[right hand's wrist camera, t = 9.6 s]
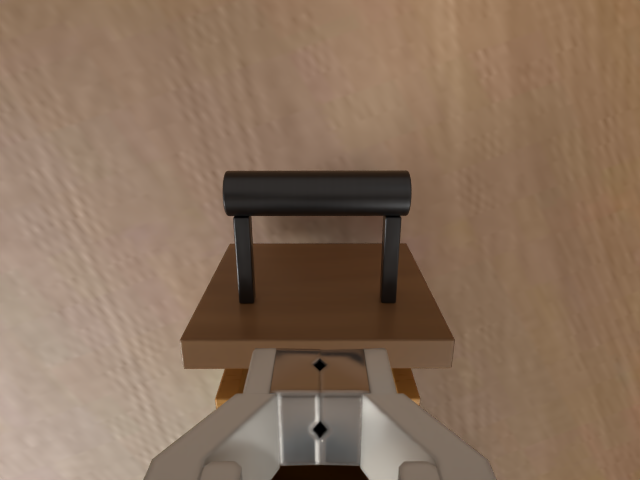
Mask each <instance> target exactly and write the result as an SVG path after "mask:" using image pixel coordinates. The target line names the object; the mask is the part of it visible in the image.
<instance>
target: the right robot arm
mask: <svg viewBox="0 0 640 480" xmlns="http://www.w3.org/2000/svg"><path fill="white" fill-rule="evenodd" d="M290 465H349V466H360V468H361V469H362V471H363V472H364V473H365V475H366V476H367V477H368V479H369V480H497V479H496V477H495V475H494V472H493V470H492V468H491V465H490V463H489V461H488V459H486V458H485V457H484V456H482V455H481V454H480V453H479V452H477V451H476V450H475V449H474V448H472V447H471V446H470V445H468V444H467V443H466V442H465V441H463V440H462V439H461V438H460V437H458V436H457V435H456V434H454V433H453V432H452V431H451V430H449V429H448V428H447V427H446V426H444V425H443V424H442V423H440V422H439V421H438V420H437V419H435V418H434V417H433V416H432V415H430V414H429V413H428V412H426V411H425V410H424V409H423V408H421V407H420V406H419V405H418V404H416V403H415V402H414V401H413V400H411V399H410V398H409V397H407V396H406V395H405V394H399V393H397V391H396V386H395V382H394V378H393V374H392V370H391V366H390V362H389V358H388V354H387V350H386V349H385V348H367V349H337V350H320V349H287V348H277V349H276V348H255V349H254V351H253V353H252V357H251V361H250V366H249V370H248V374H247V378H246V382H245V386H244V390H243V393H242V394H235V395H234V396H233V397H231V398H230V399H229V400H227V401H226V402H225V403H224V404H222V405H221V406H220V407H219V408H217V409H216V410H215V411H213V412H212V413H211V414H210V415H208V416H207V417H206V418H204V419H203V420H202V421H201V422H199V423H198V424H197V425H196V426H194V427H193V428H192V429H190V430H189V431H188V432H187V433H185V434H184V435H183V436H181V437H180V438H179V439H178V440H176V441H175V442H174V443H173V444H171V445H170V446H169V447H167V448H166V449H165V450H164V451H162V452H161V453H160V454H158V455H157V456H156V457H155V458H153V459H152V461H151V464H150V466H149V468H148V471H147V473H146V475H145V477H144V480H271V479H272V478H273V476H274V475H275V474H276V472H277V471H278V470H279V468H280V466H290Z"/></svg>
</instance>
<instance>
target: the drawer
mask: <svg viewBox="0 0 640 480" xmlns="http://www.w3.org/2000/svg"><path fill="white" fill-rule="evenodd" d="M223 203H224V209H225V212H226V214H227V215H228V216H234V218H233V223H234V237H235V244H230V245H229V247H228V249H227V250H226V252H225V254H224V256H223V258H222V260H221V262H220V264H219V266H218V268H217V270H216V272H215V274H214V275H213V277H212V279H211V281H210V283H209V285H208V287H207V289H206V291H205V293H204V295H203V297H202V299H201V301H200V302H199V304H198V306H197V308H196V310H195V312H194V314H193V316H192V318H191V320H190V322H189V324H188V326H187V327H186V329H185V331H184V333H183V335H182V337H181V339H180V346H181V354H182V362H183V368H184V369H225V370H224V373H223V376H222V379H221V382H220V386H219V389H218V392H217V395H216V398H215V403H216V409H217V408H219V407H220V406H221V405H222V404H224V403H225V402H226V401H227V400H229V399H230V398H231V397H233V396H234V395H235V394H242V393H243V390H244V386H245V382H246V378H247V374H248V370H249V366H250V361H251V357H252V353H253V351H254V349H255V348H276V349H277V348H287V349H320V350H337V349H367V348H385V349H386V350H387V354H388V358H389V362H390V366H391V370H392V374H393V378H394V382H395V386H396V391H397V393H399V394H405V395H406V396H407V397H409V398H410V399H411V400H413V401H414V402H415V403H416V404H418V405H419V406H420V396H419V393H418V390H417V387H416V383H415V380H414V377H413V374H412V370H411V368H451V367H452V359H453V350H454V342H455V340H454V337H453V335H452V333H451V331H450V330H449V328H448V326H447V324H446V322H445V320H444V318H443V316H442V314H441V312H440V310H439V308H438V306H437V304H436V302H435V300H434V298H433V296H432V294H431V292H430V290H429V288H428V286H427V284H426V282H425V280H424V278H423V276H422V274H421V272H420V270H419V268H418V266H417V264H416V262H415V260H414V258H413V256H412V254H411V252H410V250H409V248H408V246H407V244H400V232H401V216H406V215H408V213H409V210H410V205H411V178H410V174H409V172H408V171H227V172H226V173H225V175H224V180H223ZM251 216H383V235H382V244H253V238H252V221H251ZM271 480H369V479H368V477H367V476H366V475H365V473H364V472H363V471H362V469H361V468H360V466H349V465H290V466H280V468H279V470H278V471H277V472H276V474H275V475H274V476H273V478H272V479H271Z"/></svg>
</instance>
